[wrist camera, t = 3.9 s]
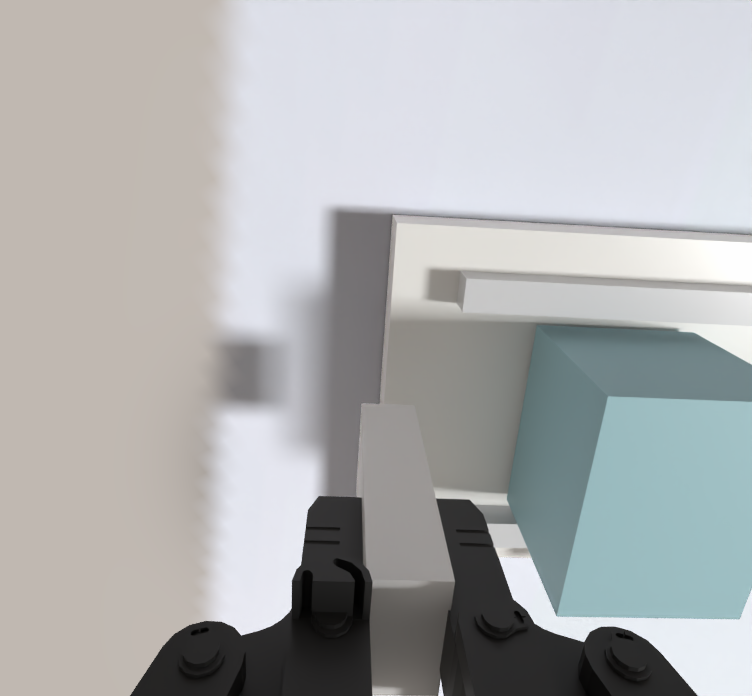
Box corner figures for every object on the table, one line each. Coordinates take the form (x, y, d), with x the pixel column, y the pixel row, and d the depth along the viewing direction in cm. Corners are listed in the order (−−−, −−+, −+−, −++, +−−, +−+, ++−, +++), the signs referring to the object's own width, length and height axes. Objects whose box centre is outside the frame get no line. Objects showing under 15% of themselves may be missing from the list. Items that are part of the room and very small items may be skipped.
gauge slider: (536, 325, 17) (608, 396, 12) (815, 337, 17) (988, 410, 12) (495, 560, 20) (539, 689, 15) (731, 565, 20) (844, 692, 16)
